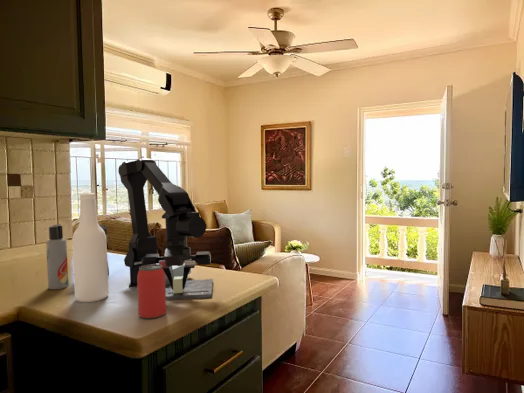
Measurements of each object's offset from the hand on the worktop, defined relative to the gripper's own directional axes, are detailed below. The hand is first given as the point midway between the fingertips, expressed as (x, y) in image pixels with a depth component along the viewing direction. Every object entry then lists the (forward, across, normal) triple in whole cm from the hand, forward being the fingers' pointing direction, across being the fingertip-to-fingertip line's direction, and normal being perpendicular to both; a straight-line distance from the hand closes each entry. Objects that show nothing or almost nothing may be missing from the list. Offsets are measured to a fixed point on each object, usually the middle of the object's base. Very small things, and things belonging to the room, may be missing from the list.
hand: (178, 289), depth 107 cm
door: (+1, -2, +15) cm, 16 cm away
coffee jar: (+2, -32, +26) cm, 41 cm away
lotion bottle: (+2, -40, +17) cm, 43 cm away
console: (+2, +2, +5) cm, 6 cm away
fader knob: (+1, 0, 0) cm, 1 cm away
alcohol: (+2, -25, +3) cm, 25 cm away
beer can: (+2, -5, -14) cm, 15 cm away
